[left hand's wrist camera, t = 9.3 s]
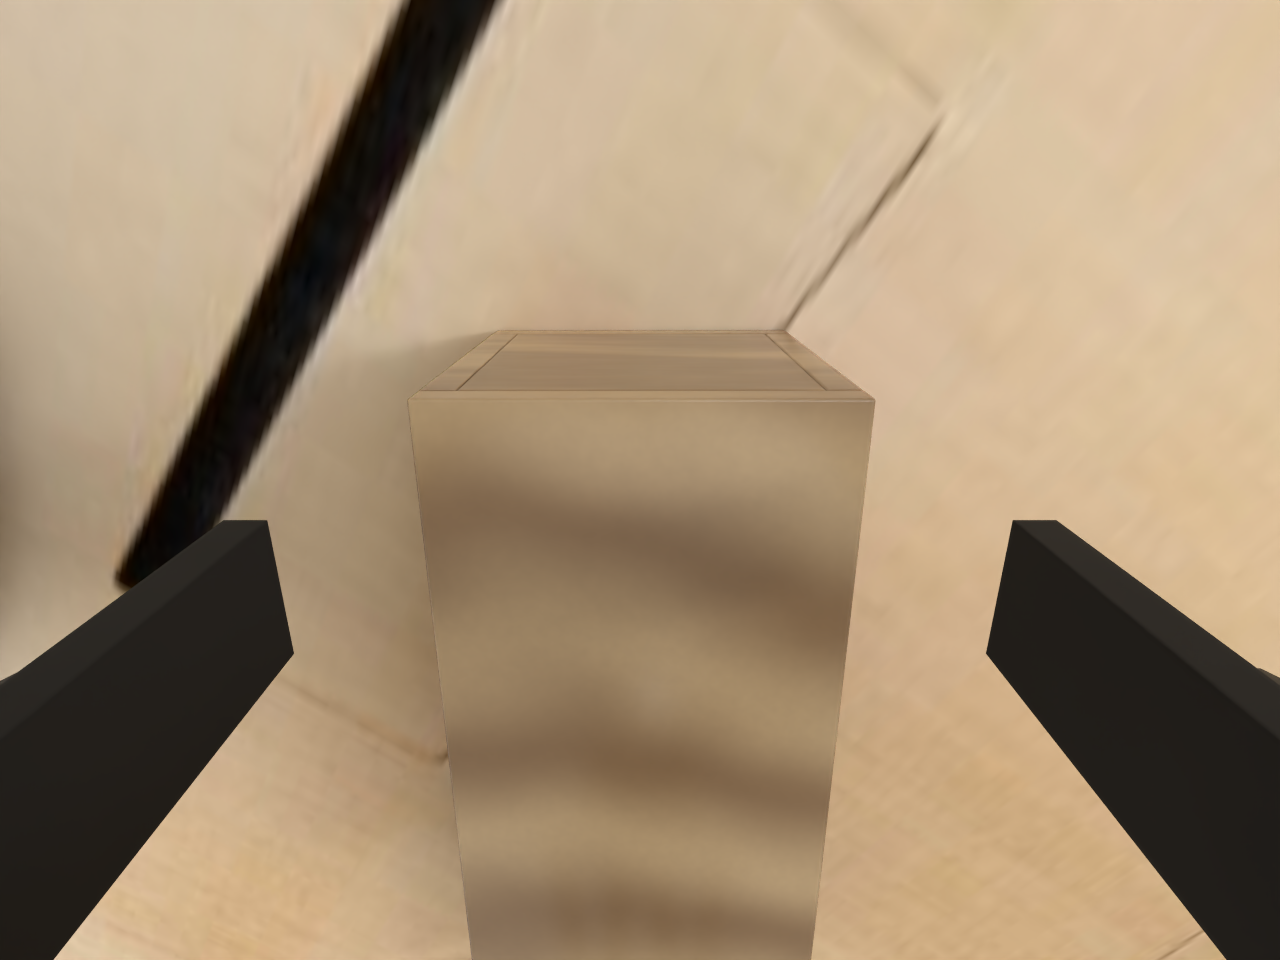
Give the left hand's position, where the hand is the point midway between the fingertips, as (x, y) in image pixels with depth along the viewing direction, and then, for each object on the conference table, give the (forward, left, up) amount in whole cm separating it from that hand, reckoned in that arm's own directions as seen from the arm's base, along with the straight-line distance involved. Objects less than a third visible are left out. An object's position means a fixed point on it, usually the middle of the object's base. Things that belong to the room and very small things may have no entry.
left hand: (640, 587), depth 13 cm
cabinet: (+7, -2, -14) cm, 16 cm away
